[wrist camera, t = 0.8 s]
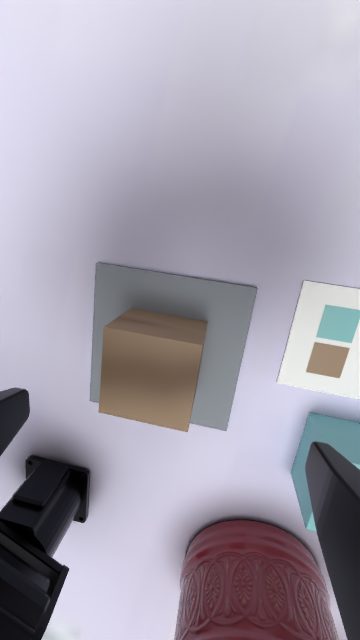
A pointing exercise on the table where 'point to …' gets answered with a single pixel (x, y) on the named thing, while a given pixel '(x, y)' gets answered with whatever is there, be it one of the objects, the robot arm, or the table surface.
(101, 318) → the mat
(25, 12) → the table surface
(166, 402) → the walnut block
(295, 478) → the teal block
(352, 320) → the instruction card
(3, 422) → the robot arm
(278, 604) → the canister
